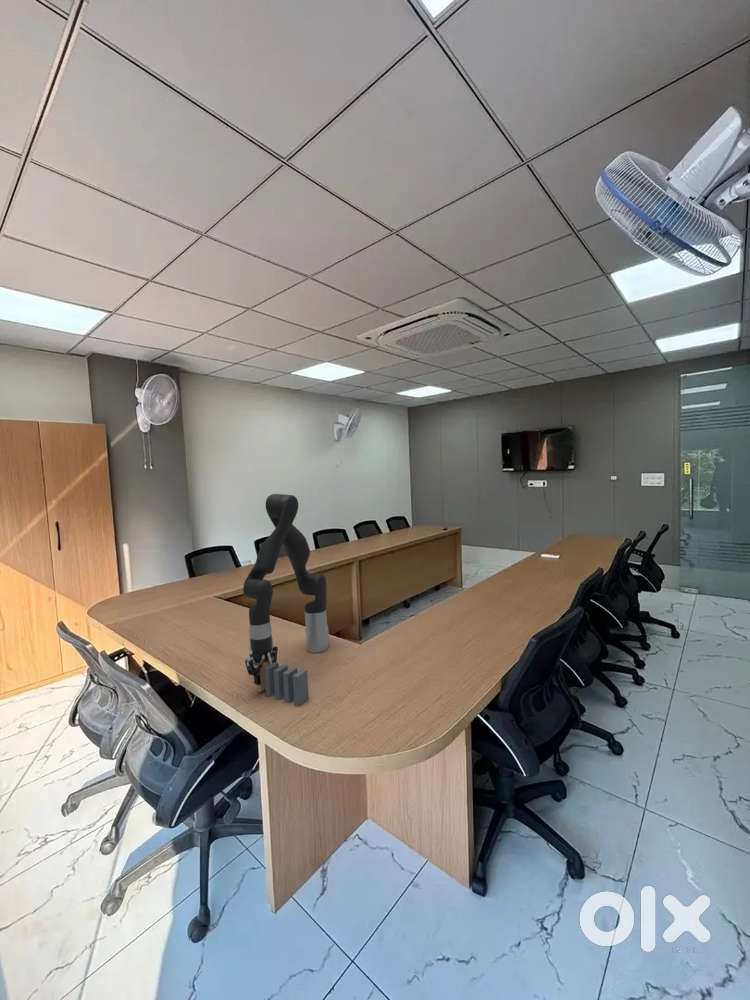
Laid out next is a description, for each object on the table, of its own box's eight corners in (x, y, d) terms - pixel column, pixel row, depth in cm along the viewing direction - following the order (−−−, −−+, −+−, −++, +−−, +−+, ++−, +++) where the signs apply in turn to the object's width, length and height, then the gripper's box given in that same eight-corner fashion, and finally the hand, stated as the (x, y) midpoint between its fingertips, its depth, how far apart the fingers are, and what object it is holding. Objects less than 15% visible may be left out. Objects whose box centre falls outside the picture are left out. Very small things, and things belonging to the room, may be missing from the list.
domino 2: (266, 695, 142) (264, 668, 142) (276, 688, 147) (274, 662, 146) (270, 697, 141) (268, 669, 141) (280, 690, 146) (278, 663, 145)
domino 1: (271, 684, 148) (269, 658, 147) (260, 691, 143) (259, 663, 143) (267, 683, 149) (265, 656, 148) (256, 690, 144) (254, 662, 144)
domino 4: (284, 701, 138) (282, 673, 137) (294, 694, 142) (292, 666, 142) (289, 703, 137) (287, 674, 136) (298, 695, 141) (297, 667, 141)
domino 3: (275, 698, 140) (273, 670, 140) (285, 691, 145) (283, 664, 144) (279, 700, 139) (277, 671, 139) (289, 693, 144) (287, 665, 143)
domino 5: (294, 704, 136) (292, 675, 135) (304, 697, 140) (302, 669, 140) (299, 706, 135) (297, 677, 134) (308, 698, 139) (307, 670, 139)
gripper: (253, 644, 137) (256, 693, 138) (282, 629, 149) (285, 674, 150) (237, 640, 140) (240, 688, 141) (267, 626, 153) (270, 670, 154)
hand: (263, 680), depth 146 cm, fingers closed on domino 1, 5 cm apart
